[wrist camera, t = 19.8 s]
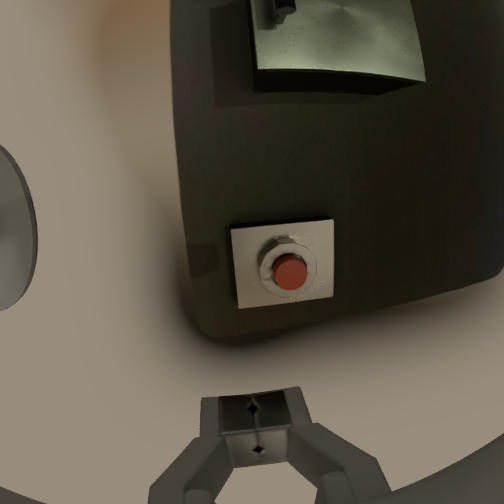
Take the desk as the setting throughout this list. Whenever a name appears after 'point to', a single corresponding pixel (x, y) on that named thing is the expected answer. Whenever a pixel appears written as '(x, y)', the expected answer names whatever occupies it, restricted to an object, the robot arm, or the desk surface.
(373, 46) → the box lid
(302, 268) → the button
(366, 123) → the desk surface
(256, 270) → the switch block
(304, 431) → the robot arm
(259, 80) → the dark green hollow box
